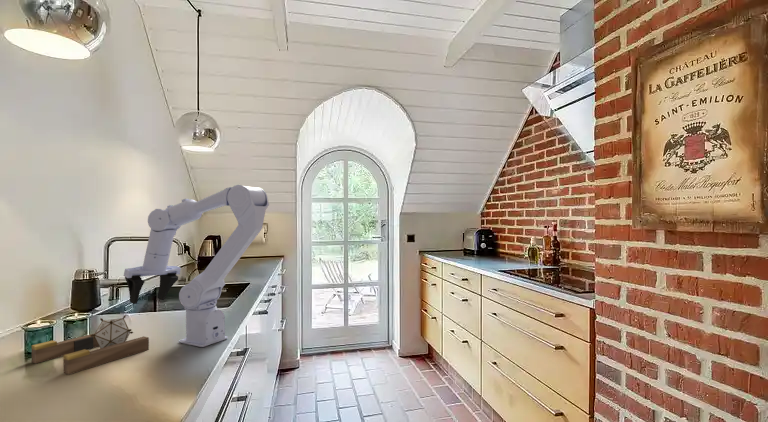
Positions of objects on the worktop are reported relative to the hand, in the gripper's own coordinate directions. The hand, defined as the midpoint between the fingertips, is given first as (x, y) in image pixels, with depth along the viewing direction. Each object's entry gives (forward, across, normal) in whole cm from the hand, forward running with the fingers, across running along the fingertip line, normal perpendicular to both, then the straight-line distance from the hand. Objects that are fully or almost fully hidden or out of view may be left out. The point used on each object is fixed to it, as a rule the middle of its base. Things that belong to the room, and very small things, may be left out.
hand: (147, 300), depth 108 cm
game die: (+10, +9, +4) cm, 14 cm away
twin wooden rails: (+10, +14, +4) cm, 18 cm away
